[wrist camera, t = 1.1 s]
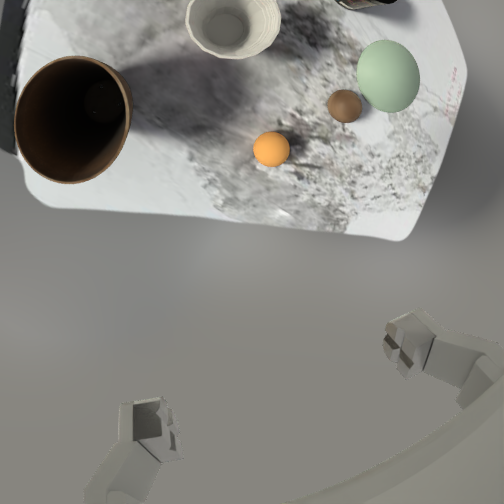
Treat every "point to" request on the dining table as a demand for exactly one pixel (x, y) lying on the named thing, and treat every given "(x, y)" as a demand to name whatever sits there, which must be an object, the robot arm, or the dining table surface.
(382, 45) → the sage mark
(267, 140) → the orange ball
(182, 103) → the dining table surface
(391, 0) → the supplement container
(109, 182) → the dining table surface
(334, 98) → the walnut ball
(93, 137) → the plant pot
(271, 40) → the plastic cup
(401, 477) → the robot arm
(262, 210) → the dining table surface
